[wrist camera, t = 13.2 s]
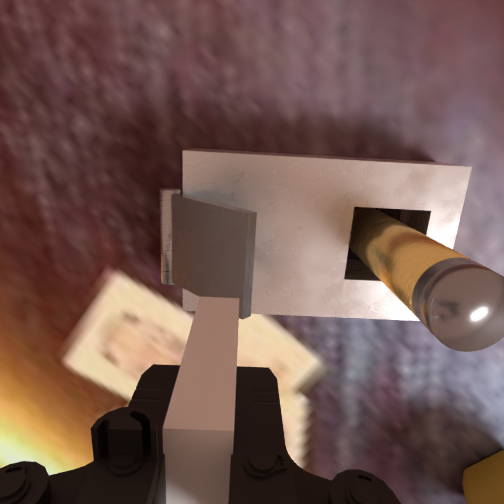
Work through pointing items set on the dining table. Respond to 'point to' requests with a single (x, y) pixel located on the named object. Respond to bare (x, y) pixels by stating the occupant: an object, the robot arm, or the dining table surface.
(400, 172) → the block
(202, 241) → the ring flap
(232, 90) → the dining table surface
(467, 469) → the flower pot
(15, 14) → the dining table surface
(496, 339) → the lynch pin
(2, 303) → the dining table surface
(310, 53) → the dining table surface
